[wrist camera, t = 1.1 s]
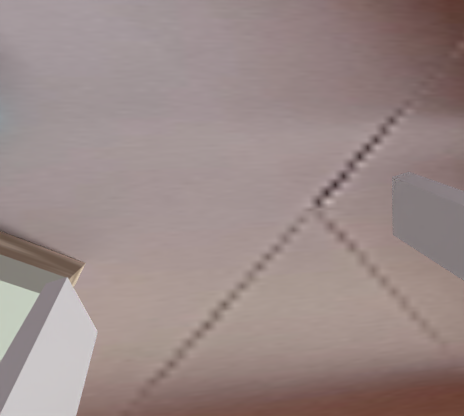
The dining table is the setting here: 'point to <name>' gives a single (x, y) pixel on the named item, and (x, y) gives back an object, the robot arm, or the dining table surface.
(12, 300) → the tower top
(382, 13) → the dining table surface
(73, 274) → the tower base
